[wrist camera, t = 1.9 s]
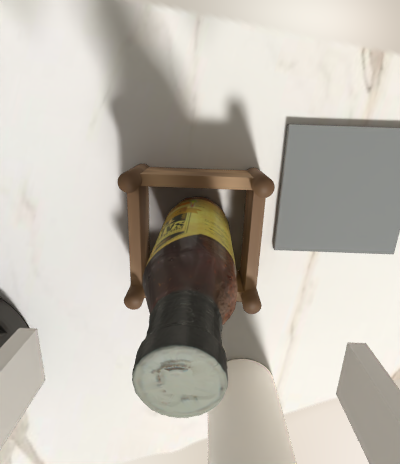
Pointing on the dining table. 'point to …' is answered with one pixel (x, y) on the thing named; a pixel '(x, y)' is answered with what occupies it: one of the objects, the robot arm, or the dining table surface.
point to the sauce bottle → (187, 312)
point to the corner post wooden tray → (145, 176)
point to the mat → (339, 190)
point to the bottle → (248, 419)
